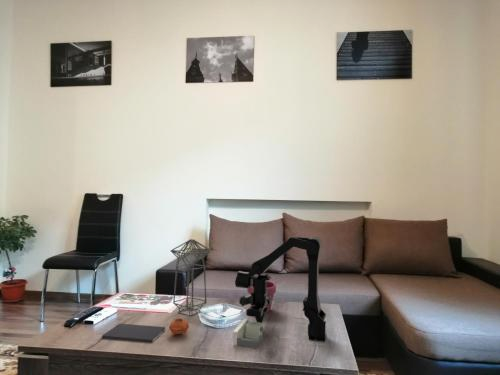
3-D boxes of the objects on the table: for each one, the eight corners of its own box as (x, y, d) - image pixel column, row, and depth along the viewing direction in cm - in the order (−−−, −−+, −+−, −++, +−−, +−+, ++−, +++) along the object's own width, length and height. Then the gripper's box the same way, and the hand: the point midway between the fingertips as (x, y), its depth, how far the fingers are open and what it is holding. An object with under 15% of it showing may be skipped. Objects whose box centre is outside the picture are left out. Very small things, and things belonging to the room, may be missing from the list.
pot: (192, 330, 142) (191, 315, 140) (184, 342, 135) (183, 327, 133) (175, 327, 144) (174, 313, 143) (166, 339, 137) (164, 324, 135)
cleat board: (268, 333, 140) (268, 321, 140) (258, 348, 126) (258, 335, 126) (245, 330, 143) (245, 318, 143) (233, 344, 129) (233, 331, 129)
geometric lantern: (166, 313, 163) (168, 239, 165) (190, 305, 176) (191, 237, 177) (190, 319, 154) (191, 241, 156) (213, 311, 167) (214, 239, 168)
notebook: (101, 339, 134) (152, 344, 131) (101, 335, 134) (152, 339, 131) (119, 327, 147) (166, 330, 143) (119, 323, 147) (166, 327, 143)
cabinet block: (263, 335, 139) (263, 322, 139) (260, 340, 134) (260, 327, 134) (249, 333, 140) (249, 321, 141) (245, 338, 136) (245, 325, 136)
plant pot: (266, 317, 159) (266, 289, 159) (241, 311, 166) (241, 285, 166) (280, 308, 171) (280, 282, 171) (256, 303, 178) (256, 278, 179)
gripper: (248, 282, 156) (247, 316, 156) (234, 293, 139) (233, 332, 138) (271, 284, 153) (271, 319, 153) (260, 296, 135) (260, 336, 135)
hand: (259, 326), depth 145 cm, fingers closed
